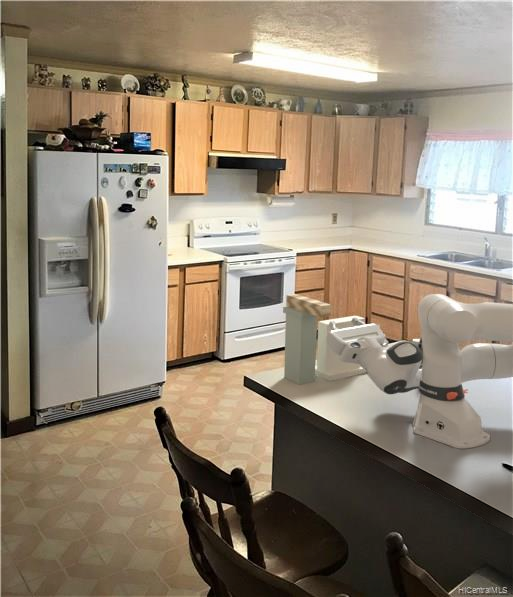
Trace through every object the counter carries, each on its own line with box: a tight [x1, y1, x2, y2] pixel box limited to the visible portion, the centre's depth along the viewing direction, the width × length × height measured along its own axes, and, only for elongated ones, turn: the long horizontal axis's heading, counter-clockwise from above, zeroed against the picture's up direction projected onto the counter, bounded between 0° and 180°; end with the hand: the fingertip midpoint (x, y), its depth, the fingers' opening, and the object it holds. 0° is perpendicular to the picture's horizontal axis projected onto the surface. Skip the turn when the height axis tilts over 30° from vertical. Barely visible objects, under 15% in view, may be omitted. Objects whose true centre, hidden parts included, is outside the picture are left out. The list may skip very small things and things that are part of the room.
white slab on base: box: [315, 315, 367, 382], centre depth 237 cm, size 12×20×20 cm, turn 123°
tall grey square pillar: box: [282, 306, 319, 385], centre depth 227 cm, size 11×8×26 cm
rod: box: [285, 293, 332, 319], centre depth 221 cm, size 20×4×4 cm, turn 33°
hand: (342, 320), depth 207 cm, fingers open, 8 cm apart
